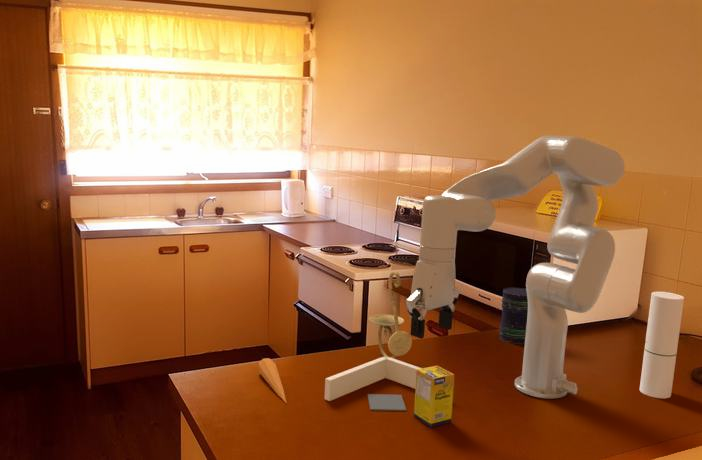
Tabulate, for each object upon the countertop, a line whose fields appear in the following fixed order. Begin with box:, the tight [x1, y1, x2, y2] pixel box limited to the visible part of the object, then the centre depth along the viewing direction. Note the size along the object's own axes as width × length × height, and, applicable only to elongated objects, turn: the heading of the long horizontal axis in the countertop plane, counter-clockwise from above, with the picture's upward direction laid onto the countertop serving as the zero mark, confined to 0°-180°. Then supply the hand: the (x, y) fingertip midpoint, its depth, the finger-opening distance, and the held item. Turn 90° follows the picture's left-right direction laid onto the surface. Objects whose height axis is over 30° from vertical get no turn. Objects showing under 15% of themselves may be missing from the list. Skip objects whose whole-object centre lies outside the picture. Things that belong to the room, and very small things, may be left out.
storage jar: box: [498, 287, 528, 345], centre depth 196 cm, size 10×10×15 cm
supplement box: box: [413, 365, 455, 428], centre depth 139 cm, size 6×6×11 cm
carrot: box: [258, 357, 287, 404], centre depth 153 cm, size 20×4×4 cm, turn 22°
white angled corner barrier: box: [324, 355, 423, 402], centre depth 149 cm, size 18×22×5 cm
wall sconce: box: [368, 270, 413, 359], centre depth 172 cm, size 14×10×25 cm
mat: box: [367, 393, 407, 412], centre depth 147 cm, size 8×8×1 cm
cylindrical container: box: [639, 291, 685, 399], centre depth 158 cm, size 7×7×25 cm
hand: (431, 332), depth 138 cm, fingers open, 9 cm apart
